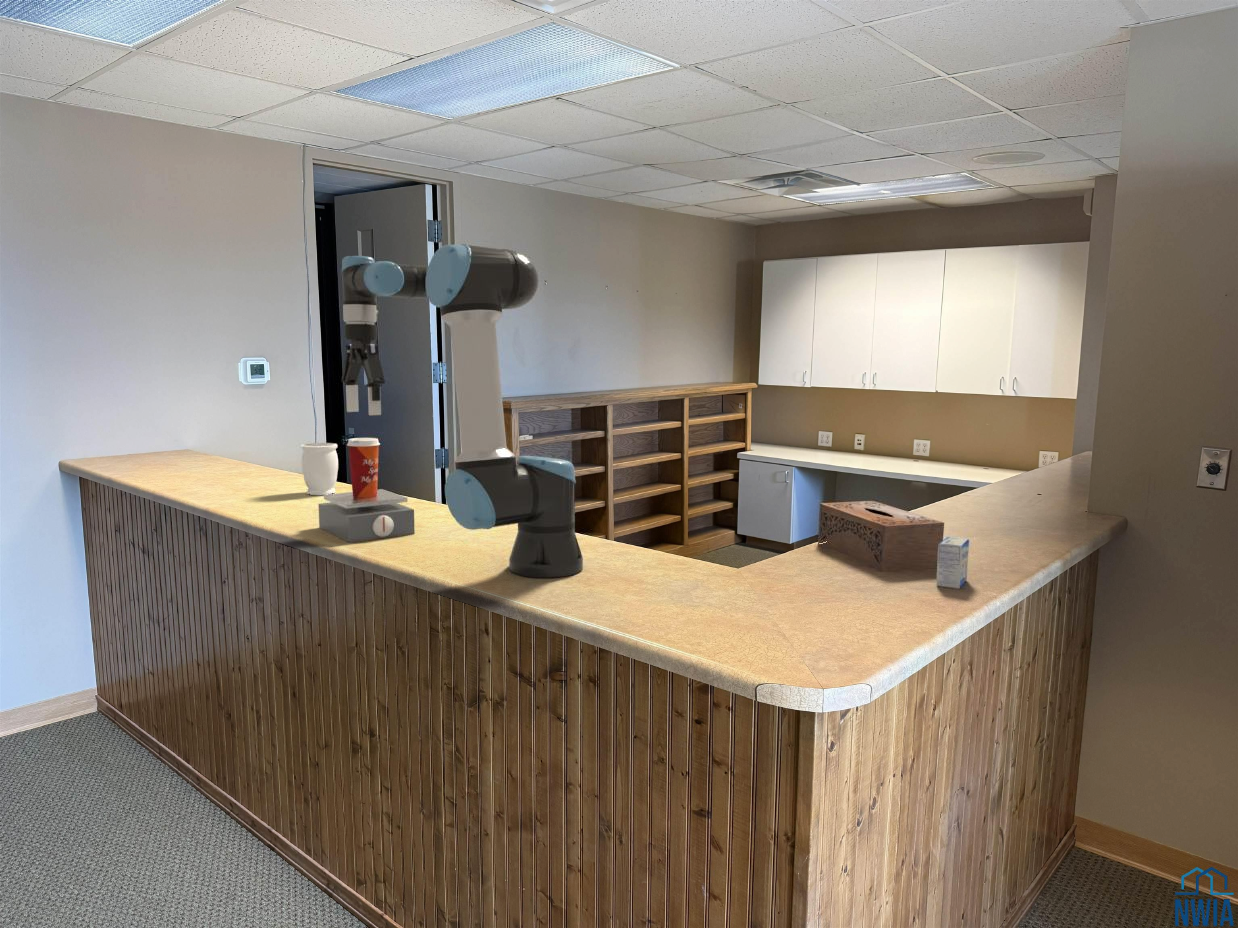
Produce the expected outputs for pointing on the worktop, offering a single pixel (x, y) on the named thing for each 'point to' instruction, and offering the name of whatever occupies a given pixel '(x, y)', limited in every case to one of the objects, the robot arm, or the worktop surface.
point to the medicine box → (952, 562)
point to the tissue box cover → (880, 535)
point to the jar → (320, 467)
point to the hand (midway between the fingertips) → (363, 413)
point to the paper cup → (364, 466)
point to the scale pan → (365, 499)
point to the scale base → (366, 521)
